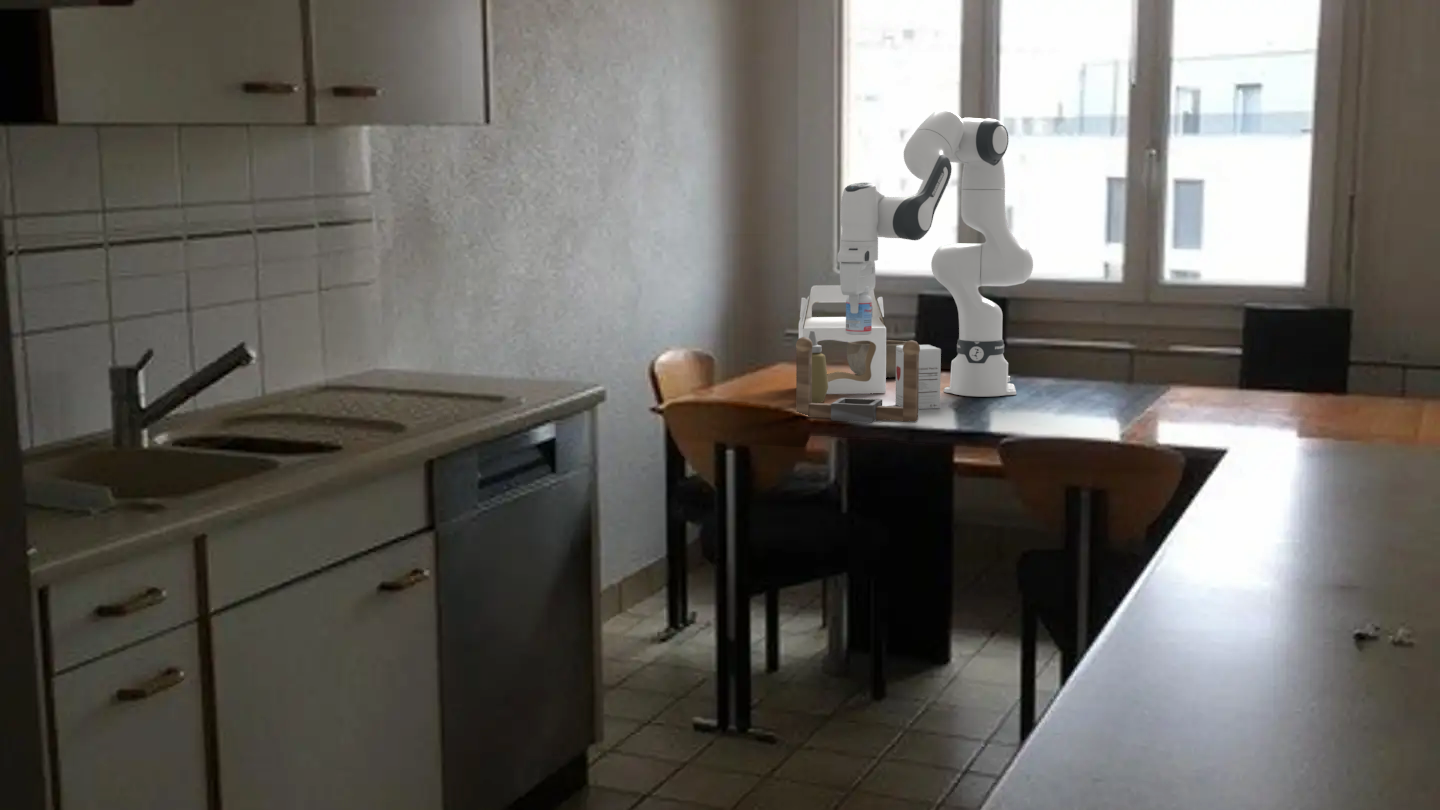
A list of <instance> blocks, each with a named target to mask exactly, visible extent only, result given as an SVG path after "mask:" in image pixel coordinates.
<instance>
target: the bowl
mask: <svg viewBox="0 0 1440 810" xmlns="http://www.w3.org/2000/svg"><path fill="white" fill-rule="evenodd" d="M906 342H907V341H906V340H905V341H904V340H892V339H891V340H889V339H888V340H887V339H886V378H887V377H889V378H896V346H899V345H904V344H905V343H906ZM869 345H870V341H856V342H847V347H846V358H847V359H846V360H847V363H848V365H849V368H850V370H851V372H852V373H853V374H854V375H862V374H864V373H865V370H866V366H865V357H866V354H867V351H868V349H869Z"/></svg>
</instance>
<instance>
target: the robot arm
mask: <svg viewBox="0 0 1440 810" xmlns="http://www.w3.org/2000/svg"><path fill="white" fill-rule="evenodd" d="M1008 147H1009V132H1008V129H1007V128H1006V126H1005V124H1004V123H1003V122H1002V121H1000V120H998V119H995V118H989V117H987V118H978V117H964V118H961V117H960V116H959V114H957V113H956V112H955V111H952V110H950V109H945V108H944V109H939V110H935V111H934V112H933V113H932V114H931V115H929V116H928V117H927V118H925V120H924V121H923V122H922V123H921V124H920V125H919V127H917V128H916V130H915V132H914V133H913V134H912V135H911V137H910V138H909V139H908V141H907V143H906V144H905V147H904V150H903V159H904V160H903V161H904V164H905V166H906V167H907V169H908V170H909V172H910V173H911V174H913V176H915V177H916V178H918V179H920V180H922V182H921V184H920V186H919V189H918V191H917V192H916V193H915V194H913V195H912V194H911V195H910V196H905V197H904V196H903V197H902V196H901V197H900V196H898V197H897V196H895V197H894V196H885V195H883V194H882V193H880V192H879V191H878V190H877V187H876V185H875V184H874V183H872V182H858V183H852V184H849V185H847V186H846V187H845V188H844V189H843V191H842V196H841V201H840V218H839V219H840V225H841V236H840V243H839V245H840V246H839V251H838V252H837V255H836V258H837V260H836V261H837V263H839V283H840V284H839V285H841V291H842V294H843V295H849V302H850V312H851V313H859V302H858V299H859V294H861V293H864V291H865V287H867V286H869V291H870V290H875V287H876V283H877V282H876V281H877V280H876V263H875V262H876V261H878V260H879V238H884V239H885V238H886V239H903V240H909V241H919V240H921V239H922V238H923V237H925V236H926V235H927V233H928V232H929V231H930V229H931V227H932V224H933V220H934V217H935V212H936V210H937V208H938V206H939V203H940V201H941V199H942V197H943V196H944V193H945V191H946V189H947V186H948V184H949V181H950V178H951V176H952V171H953V170H952V169H953V167H952V164H951V163H956V164H957V163H959V164H963V169H962V175H961V176H962V177H961V192H960V193H961V194H960V195H961V202H960V204H961V205H960V207H961V208H960V209H961V210H960V216H961V219H962V221H963V223H964V224H966V226H968V227H970V228H971V229H973V230H976V231H977V232H979V233H981V234H982V235H983V236H984V238H985V241H984V242H981V243H976V242H975V243H969V242H967V243H960V242H957V243H952V244H947V245H943V246H942V245H941V246H939V247H938V248H937V249H936V250H935V252H934V254H933V256H932V258H931V264H930V265H931V267H930V268H931V272H932V275H933V276H934V279H936V281H937V282H939V284H940V285H942V286H943V287H945V289H947V291H948V292H949V293H950V295H951V296H952V297H953V299H954V302H955V305H956V307H957V313H958V328H959V329H958V333H959V334H958V339H957V344H956V353H957V355H956V357H955V358H953V359H952V360H951V363H950V377H949V378H950V379H949V386H946V387H944V388H943V393H948V394H954V395H959V396H965V397H1000V396H1002V397H1003V396H1015V395H1017V390H1016V386H1015V384H1014V383H1010V382H1011V380H1012V379H1011V378H1012V377H1011V376H1010V375H1009V362H1008V360H1006V359H1005V356H1004V353H1005V343H1004V342H1005V341H1004V339H1003V318H1004V317H1003V316H1004V315H1003V311H1002V308H1001V307H1000V305H998V304H997V303H996V302H994V301H993V300H990V299H989V298H986V297H984V296H983V295H982V294H981V293H980V291H979V288H980V287H1011V286H1017V285H1020V284H1025V282H1027V281H1028V280H1029V278H1030V277H1031V275H1032V273H1033V269H1034V260H1033V257H1032V254H1031V252H1030V251H1029V249H1027V247H1025V246H1024V245H1023V244H1022V243H1021V242H1019V240H1018V239H1016V237H1015V235H1014V234H1013V233H1012V231H1011V230H1010V227H1009V225H1008V221H1007V213H1006V179H1005V178H1006V176H1005V174H1006V173H1005V165H1004V159H1003V157H1004V155H1005V154H1006V152H1007V150H1008ZM868 295H869V293H868Z"/></svg>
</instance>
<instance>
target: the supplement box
mask: <svg viewBox="0 0 1440 810" xmlns="http://www.w3.org/2000/svg"><path fill="white" fill-rule="evenodd" d="M903 346H904V345H899V346H896V377H895V405H897V407H903V372H904V352H903ZM919 346H920V352H919V395H918V410H929V409H940V408H941V373H942V372H941V368H942V367H941V366H942V363H941V358H942V357H941V356H942V355H941V354H942V349H941V348H940V347H936V346H933V345H931V344H919Z"/></svg>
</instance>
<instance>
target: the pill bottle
mask: <svg viewBox="0 0 1440 810" xmlns="http://www.w3.org/2000/svg"><path fill="white" fill-rule="evenodd" d="M868 293H869V286H867V287H865V291H864V293H861V294H859V299H858V302H859V313H851V312H850V302H849V296H848V297H847V299H846V302H845V317H846V333H847V334H850V335H868V334H871V331H872V299H871V297H870V296H868Z"/></svg>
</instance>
